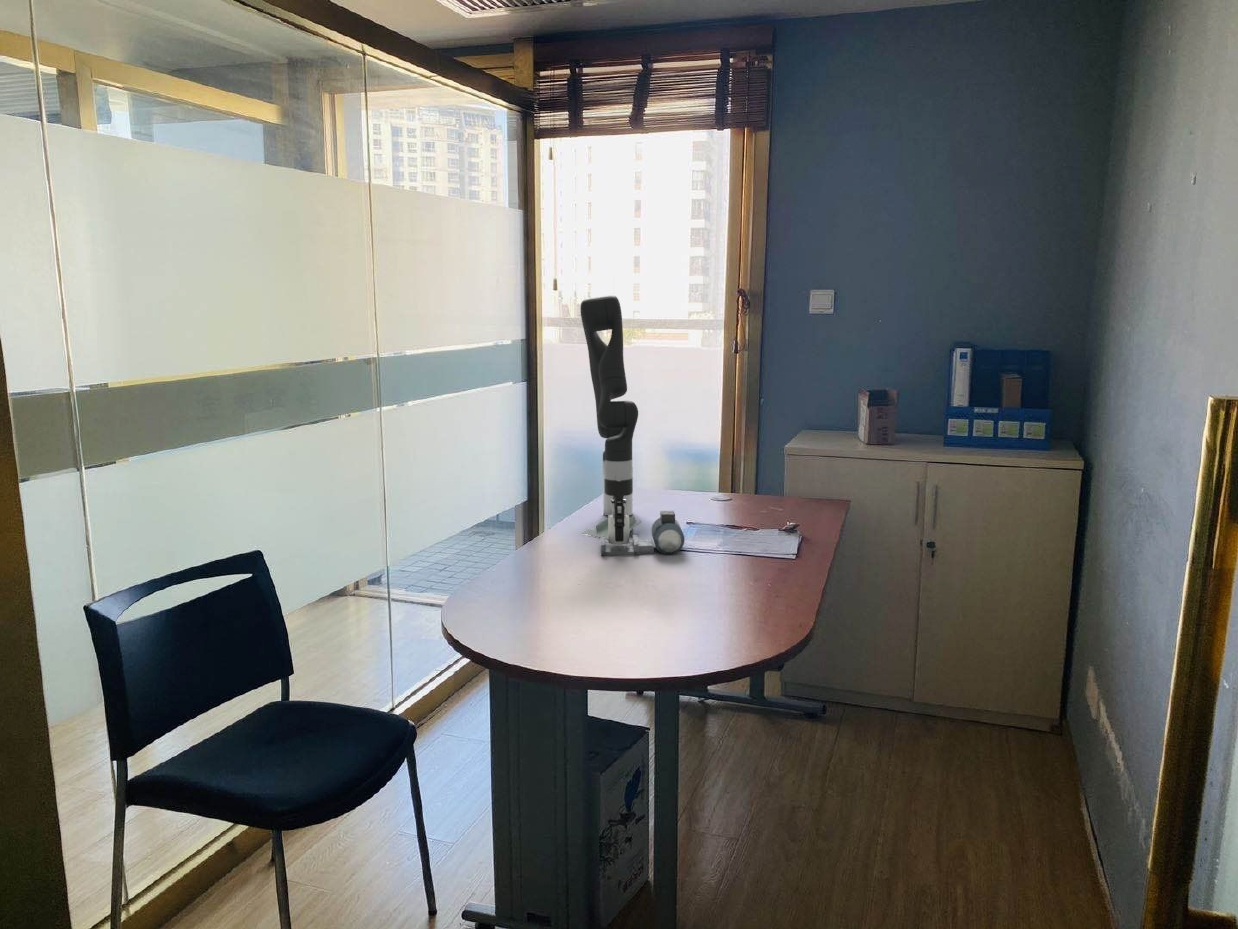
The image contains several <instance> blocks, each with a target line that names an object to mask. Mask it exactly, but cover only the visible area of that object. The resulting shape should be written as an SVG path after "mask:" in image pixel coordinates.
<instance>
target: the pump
mask: <svg viewBox="0 0 1238 929" xmlns="http://www.w3.org/2000/svg"><path fill="white" fill-rule="evenodd" d="M607 518H608V537H609V540H608V542H609V543H610V544H615V545H622V544H627V543H629V542H630V532H629V519H630V516H628V515H626V518H625V519H624V524H625V526H624V528H623V531H624V540H623V541H622V542H616V541H615V526H614V524H615V520H614V519H613V515H609V516H607ZM617 522H622V519H617Z"/></svg>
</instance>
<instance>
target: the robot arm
mask: <svg viewBox="0 0 1238 929" xmlns="http://www.w3.org/2000/svg"><path fill="white" fill-rule="evenodd" d="M579 309H580V318H581V323H582V327H583V332H584V337H585V340H586V347H587V351H588V353H587V354H588V361H589V369H590V377H591V382H592V386H593V393H594V399H595V407H596V412H595V413H596V424H597V432H598V435H599V436H600V437H601V438H603V439H605V442H604V451H603V452H602V485H603V486H602V487H603V488H602V490H603V491H602V495H603V496H602V497H603V501H602V502H603V503H602V504H603V505H602V506H603V510H602V511H603V515H604V514H605V515H604V516H606V515H611V514H612V515H613V519H614V520H615V524H614V526H615V541H616V542H622V541H623V540H624V531H623V528H624V526H625V524H624V519H625V518H626V515H630V516H631V515H633V514H632V513H634V512H633V506H634V505H633V504H634V503H633V501H634V498H633V496H634V494H633V493H634V492H633V491H634V489H633V488H634V487H633V486H634V485H633V484H634V483H633V482H634V481H633V480H634V476H633V474H634V473H633V469H634V468H633V438H634V432H635V430H636V429H635V428H636V425H637V422H638V419H639V409H638V406H637V405H636V403H635V402H634V401H631V400H617V401H616V400H615V401H614V399H618V398H621V397H623V396H625V394H626V393H627V392H628V384H627V377H626V371H625V364H624V363H625V361H624V332H623V331H624V330H623V328H624V327H623V315H622V308H621V303H620V300H619V297H617V296H616V295H612V294H611V295H604V296H597V297H588V298H585V299H583V300H582V301H581V303H580V308H579ZM608 330H609V331H611V335H610V339H609V342H608V343H607V344H606V342H604V341H603V340H602V339H601V337H600V335H599V334H598V332H601V331H603V332H604V331H608ZM611 400H613V401H611ZM617 519H622V522H617Z"/></svg>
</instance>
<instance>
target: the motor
mask: <svg viewBox="0 0 1238 929" xmlns="http://www.w3.org/2000/svg"><path fill="white" fill-rule="evenodd" d="M659 512H660V514H659V515H660V517H659V518H657V519H656V520H655V521H654V522H653V523H652V526H651V536H652V539H653V540H652V539H639V538H638V535H637V534H632V539H631V540H632V541H629V543H627V544H622V545H615V544H610V543H609V541H606V539H605V535H601V538H600V556H601V557H614V556H615V557H618V556H619V557H620V556H621V557H622V556H623V557H625V556H626V557H629V556H640V554H654V553H655V552H654V550H655V549H654V548H656V549H657V551H658V552H660V553H661V554H663V555H668V556H669V555H670V556H671V555H675V554H677V553H679V552H680V551H681V549H683V547H684V545H685V540H686V539H685V535H684V532H683V529H682V527H681V525H680V523H679V522H678V520H677V519H676V513H675V511H674V510H661V511H659Z"/></svg>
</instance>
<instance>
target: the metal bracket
mask: <svg viewBox="0 0 1238 929" xmlns="http://www.w3.org/2000/svg"><path fill="white" fill-rule="evenodd" d="M611 515H612V514H611ZM641 523H642V520H638V519H636V518H635V516H631V517H629V533H630V532H631V531H632V530H633V531H634V529H635V528H636V527H637V526H639V524H641ZM581 534H588V535H591V536H595V537H594V538H596V537H599V538H598V539H601V535H605V540H606V539H607V540H606V541H609V537H608V517H607V518H604V519H603V520H601V521H600V522H599V523H597V524H596V525H595V528H594V529H590V528H589V529H588V528H587V529H585V530H584V531H583V532H582V533H581ZM591 536H590V537H591Z"/></svg>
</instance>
